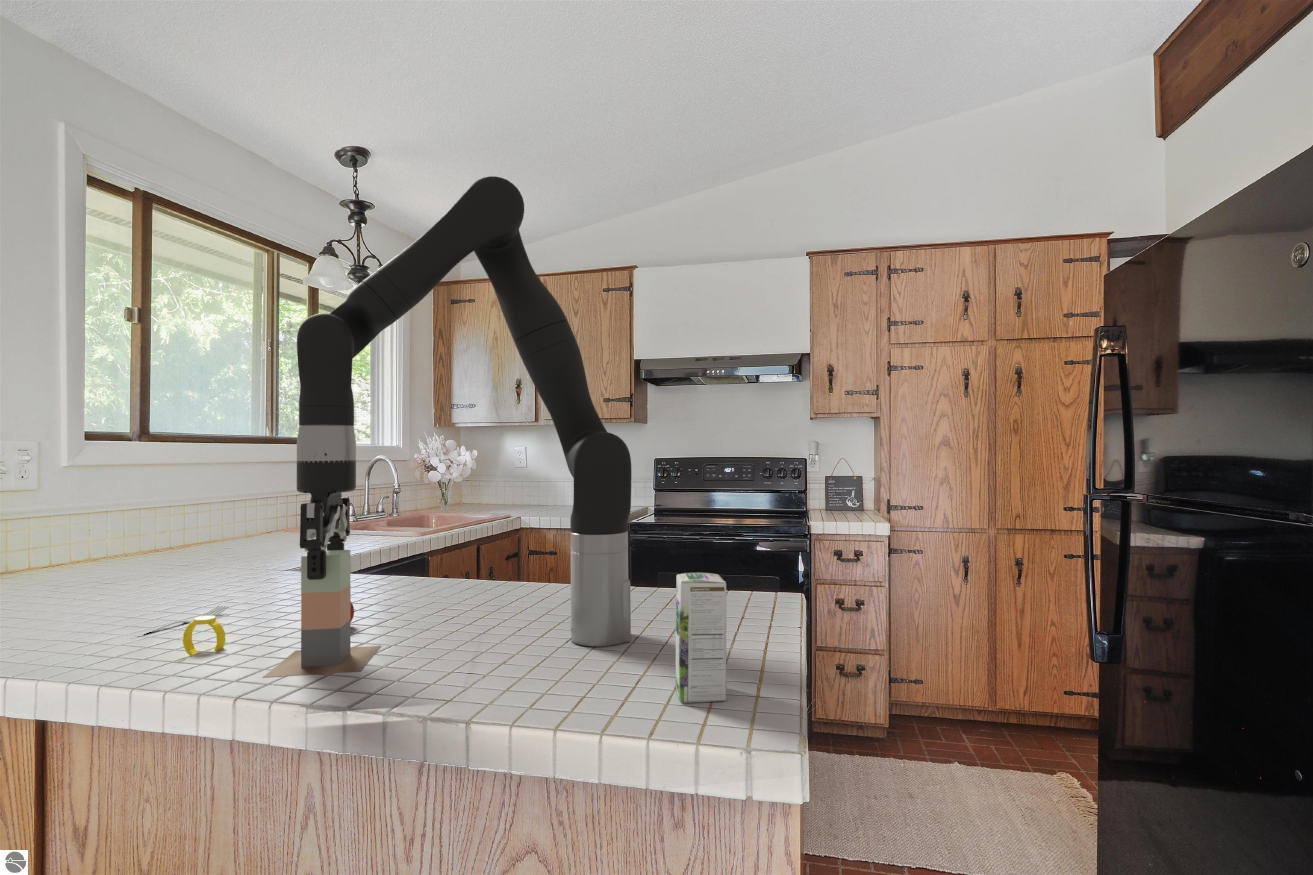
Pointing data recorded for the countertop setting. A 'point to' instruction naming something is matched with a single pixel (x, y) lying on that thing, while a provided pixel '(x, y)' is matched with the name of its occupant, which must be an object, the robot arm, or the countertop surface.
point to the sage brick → (328, 573)
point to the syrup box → (700, 637)
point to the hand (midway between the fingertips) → (326, 573)
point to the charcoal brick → (325, 646)
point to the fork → (188, 622)
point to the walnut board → (350, 664)
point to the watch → (200, 620)
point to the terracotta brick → (325, 609)
